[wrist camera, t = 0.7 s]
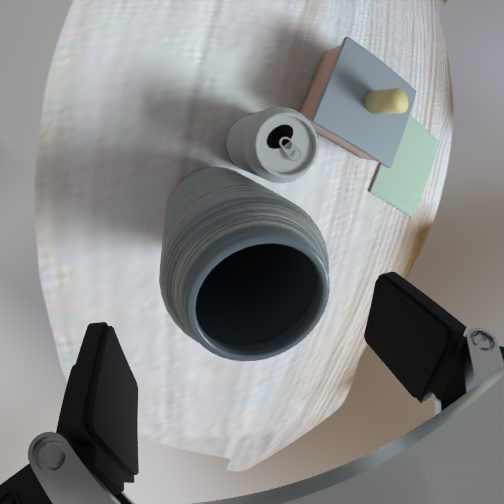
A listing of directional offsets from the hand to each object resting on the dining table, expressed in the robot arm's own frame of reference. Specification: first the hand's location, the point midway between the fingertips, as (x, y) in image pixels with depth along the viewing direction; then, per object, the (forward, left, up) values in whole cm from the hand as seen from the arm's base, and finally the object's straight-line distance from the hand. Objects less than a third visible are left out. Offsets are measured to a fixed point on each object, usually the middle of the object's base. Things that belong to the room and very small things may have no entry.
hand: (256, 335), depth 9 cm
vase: (+2, +3, -29) cm, 29 cm away
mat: (-17, +31, -29) cm, 45 cm away
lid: (-19, +15, -23) cm, 33 cm away
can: (-8, +5, -29) cm, 30 cm away
